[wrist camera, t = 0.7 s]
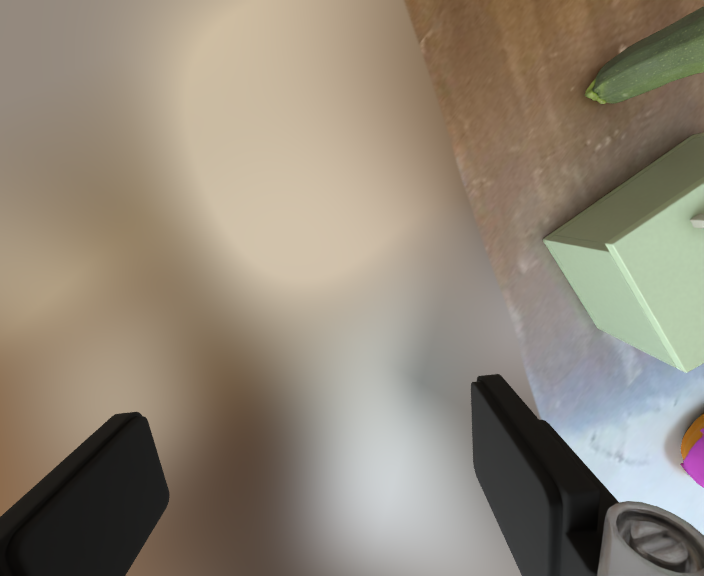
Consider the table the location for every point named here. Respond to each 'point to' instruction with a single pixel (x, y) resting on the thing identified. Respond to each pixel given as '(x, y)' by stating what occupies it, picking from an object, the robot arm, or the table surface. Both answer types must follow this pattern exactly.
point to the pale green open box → (608, 221)
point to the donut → (694, 450)
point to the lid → (669, 272)
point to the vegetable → (653, 61)
